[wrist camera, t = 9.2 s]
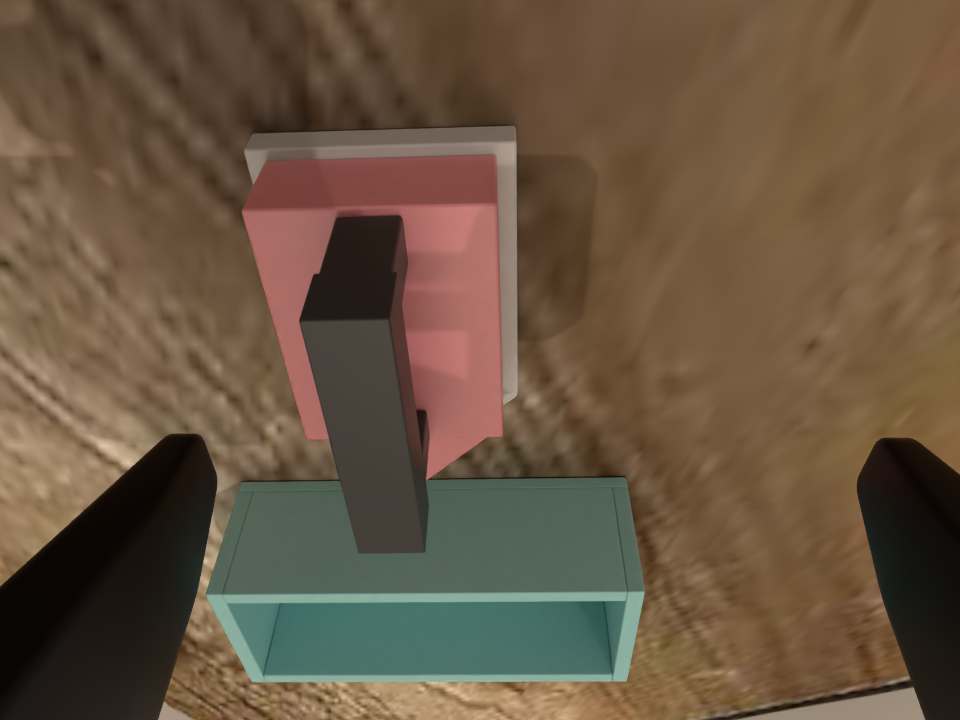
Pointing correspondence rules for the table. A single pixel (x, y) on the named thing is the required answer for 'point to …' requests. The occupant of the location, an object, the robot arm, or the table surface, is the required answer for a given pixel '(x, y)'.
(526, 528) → the teal open box
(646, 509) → the table surface
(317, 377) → the iron
